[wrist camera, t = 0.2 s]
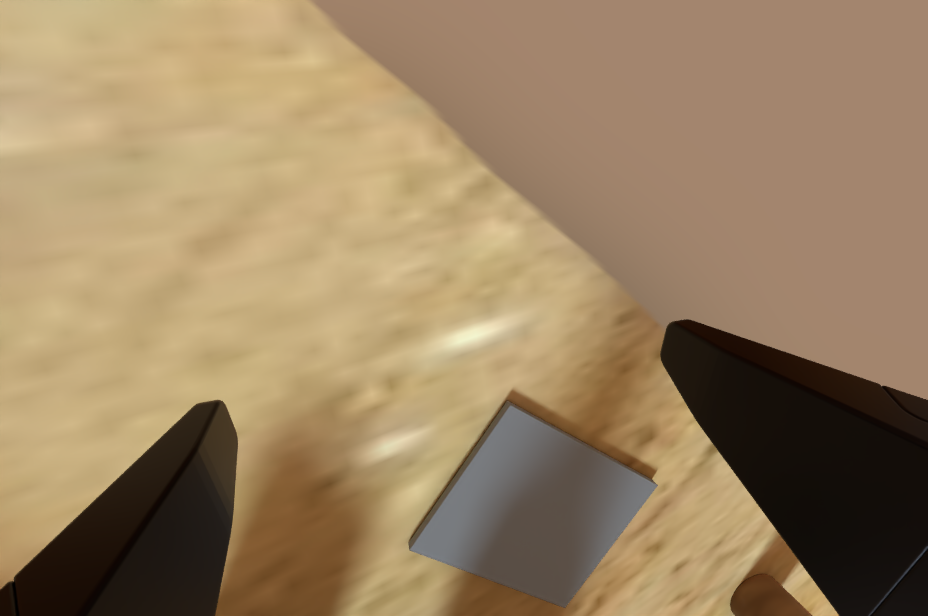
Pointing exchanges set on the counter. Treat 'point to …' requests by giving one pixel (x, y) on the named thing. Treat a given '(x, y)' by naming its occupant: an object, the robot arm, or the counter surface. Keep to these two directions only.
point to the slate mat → (532, 508)
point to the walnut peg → (764, 599)
